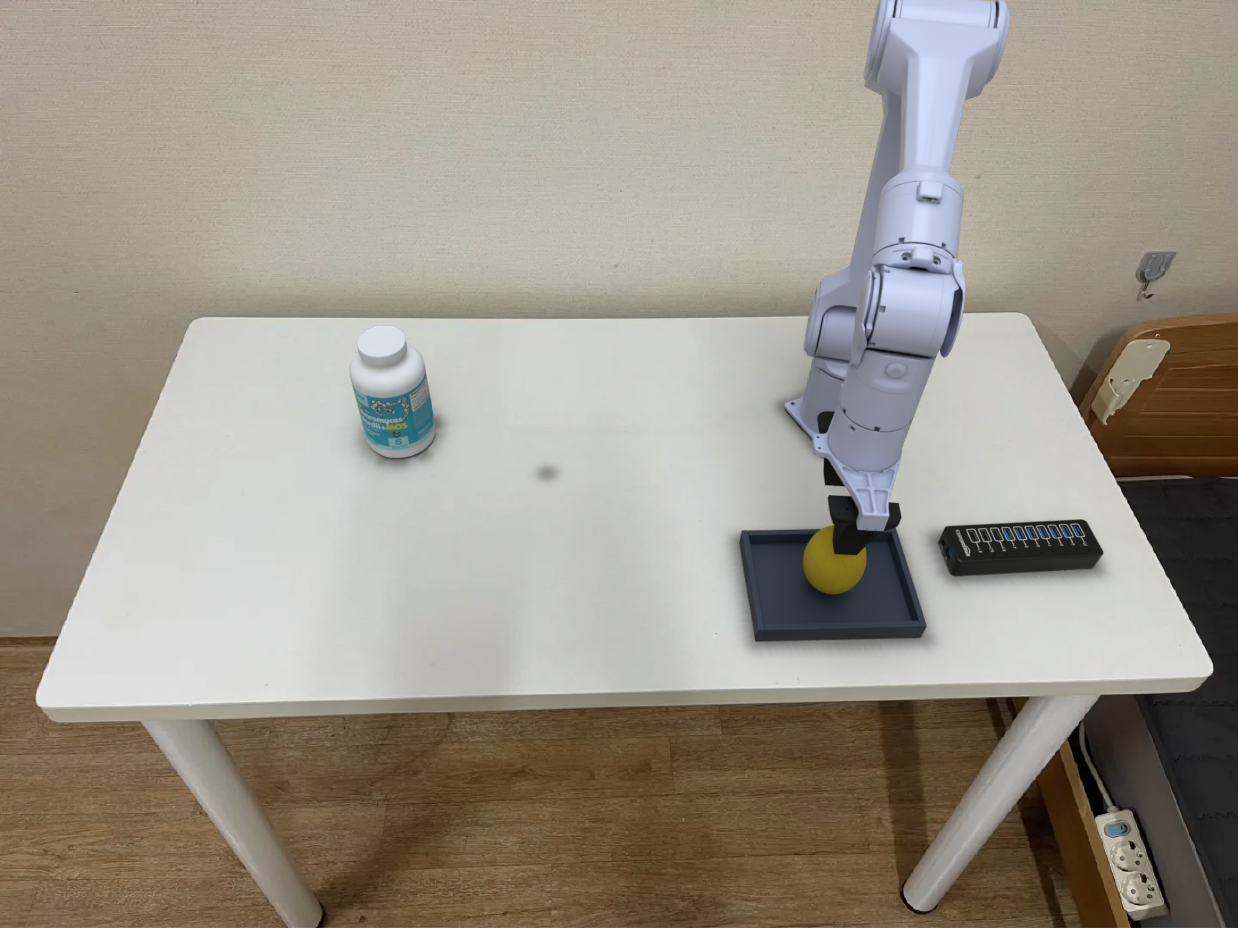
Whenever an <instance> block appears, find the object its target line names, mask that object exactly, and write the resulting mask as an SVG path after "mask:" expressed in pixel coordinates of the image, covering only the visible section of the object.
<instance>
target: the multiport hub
mask: <svg viewBox="0 0 1238 928" xmlns="http://www.w3.org/2000/svg"><path fill="white" fill-rule="evenodd" d="M937 544H938V547H939V550H940V552H941V554H942V557H943V559H944V562H945V565H946V567H947V570H948V572H949V574H950V575H951V576H952V577H965V576H985V575H1001V574H1002V575H1004V574H1021V573H1041V572H1058V571H1073V570H1074V571H1075V570H1077V571H1078V570H1093V569H1094V568H1095V567H1096V565H1097V564H1098V562H1099V561H1100V559H1102V557H1103V555H1104V553H1105V552H1104V549H1103V548H1102V546H1101V544H1100V543H1099V540H1098V539H1097V537H1096V535H1095V534H1094V532H1093V530H1092V528H1091V526H1090V524H1089V523H1088V522H1087V520H1085V519H1082V518H1080V519H1078V518H1077V519H1057V520H1037V521H1036V520H1035V521H1019V522H1003V523H1002V522H999V523H997V522H996V523H977V524H960V525H958V524H957V525H945V527H944V528H943V530H942V533H941V534H940V536H939V539H938V541H937Z"/></svg>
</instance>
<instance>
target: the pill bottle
mask: <svg viewBox="0 0 1238 928" xmlns="http://www.w3.org/2000/svg"><path fill="white" fill-rule="evenodd" d="M406 339H407V338H406V335H405V333H404V332H403V331H402V330H401V329H399V328H397V327H396V326H395V327H394V326H392V325H377V326H373V327H371V328H368V329H365V330H364V331H363V332H362V333H361V334H360V335H359V336H358V338H357V341H356V347H357V352H356V353H355V354H354V356H353V357H352V359H351V361H350V363H349V369H348V370H349V371H348V373H349V377H350V383H351V386H352V390H353V393H354V397H355V402H356V405H357V409H358V411H359V416H360V420H361V424H362V428H363V431H364V435H365V440H366V441H367V444H368V446H369V447H370V449H372V450H373V451H374V452H376V453H377V454H379V455H381V456H383V457H385V458H391V459H403V458H409V457H412V456H414V455H417V454H419V453H421V452H422V451H424V450H425V449H426V448H427V447H429V445H430V444H431V443H432V441H433V440H434V438H435V435H436V422H435V415H434V409H433V404H432V399H431V393H430V387H429V386H430V385H429V381H428V375H427V371H426V365H425V364H426V363H425V361H424V357H423V355H422V353H421V352H420V351H419V350H418V349H417V348H416V347H415V346H414V345H412V344H410V343H408V342H407V340H406Z"/></svg>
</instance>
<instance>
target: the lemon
mask: <svg viewBox="0 0 1238 928" xmlns="http://www.w3.org/2000/svg"><path fill="white" fill-rule="evenodd" d="M820 529H821V530H819V531H818V532H817V533H816V534H815V535H814V536H813V537H812V538H811V540H810V541H809V543H808V544H807V546H806V549H805V552H804V557H803V569H804V573H805V575H806V578H807V580H808V581H809V582H810V584H811V585H812V586H813V587H815V588H816V589H817V590H819V591H821V592H823V593H827V594H841V593H844V592H847V591H849V590H850V589H852V588H853V587H854V586H855V585H856V584H857V583H858V582H859V580H860V579H861V577H862V575H863V573H864V570H865V567H866V548H865V547H864V549H863V550H862V551H861V552H860V553H859V554H858V555H839V554H834V551H833V542H832V539H833V529H834V524H833V525H828V526H825V527H823V528H820Z"/></svg>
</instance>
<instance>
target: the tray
mask: <svg viewBox="0 0 1238 928" xmlns="http://www.w3.org/2000/svg"><path fill="white" fill-rule="evenodd" d="M821 529H822V528H803V529H799V528H798V529H751V530H750V529H747V530H745V529H744V530H743V529H742V530H741V532H740V538H739V542H738V543H739V549H740V555H741V556H740V557H741V561H742V568H743V575H744V580H745V588H746V593H747V599H748V604H749V605H748V606H749V610H750V611H749V612H750V616H751V622H752V630H753V635H754V641H755V642H756V643H757V642H758V643H759V642H796V641H836V640H837V641H838V640H839V641H840V640H878V639H879V640H880V639H881V640H882V639H883V640H884V639H885V640H886V639H921V638H922V636H923V635H924V633H925V631H926V629H927V627H928V625H927V621H926V619H925V618H926V617H925V615H924V613H923V609H922V605H921V603H920V599H919V597H918V594H917V589H916V587H915V584H914V581H913V578H912V574H911V572H910V568H909V566H908V561H907V558H906V555H905V552H904V549H903V546H902V542H901V539H900V536H899V533H898V530H897V527H896V528H893V529H890V530H887V531H885V532H883V533H881V534H879V535H877V536H876V537H875V538H873V539H872V540H871V541H870V542H869V543H868V544H867V545H866V546H865V548H866V567H865V570H864V573H863V575H862V577H861V579H860V580H859V582H858V583H857V584H856V585H855V586H854V587H853V588H852V589H850V590H849V591H847V592H844V593H841V594H827V593H823V592H821V591H819V590H817V589H816V588H815V587H813V586H812V585H811V584H810V582H809V581H808V580H807V578H806V575H805V573H804V569H803V557H804V552H805V549H806V546H807V544H808V543H809V541H810V540H811V538H812V537H813V536H814V535H815V534H816V533H817V532H818V531H819V530H821Z"/></svg>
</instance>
